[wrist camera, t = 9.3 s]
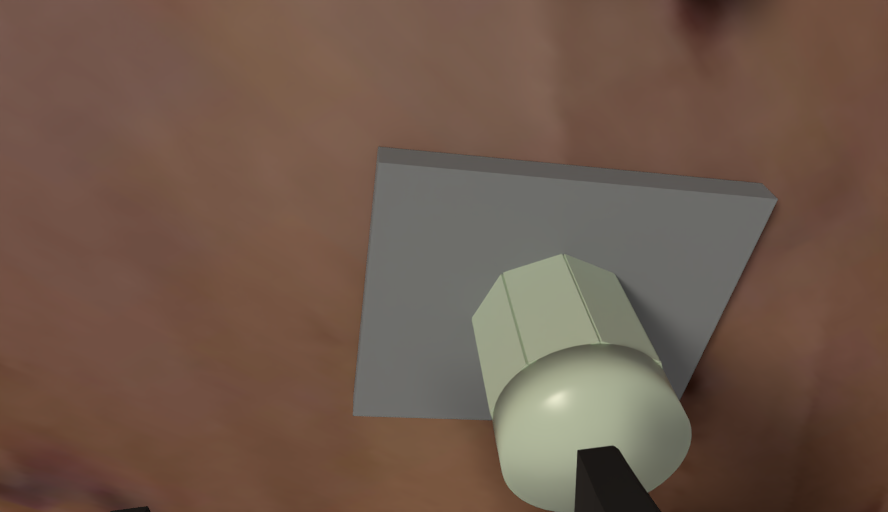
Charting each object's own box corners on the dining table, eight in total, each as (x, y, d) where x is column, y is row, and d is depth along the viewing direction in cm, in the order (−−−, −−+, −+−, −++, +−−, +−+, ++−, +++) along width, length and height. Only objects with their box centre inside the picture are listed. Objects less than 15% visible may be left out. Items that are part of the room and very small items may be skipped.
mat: (761, 183, 21) (778, 199, 20) (658, 406, 26) (667, 425, 25) (378, 146, 19) (378, 162, 18) (353, 395, 24) (352, 415, 23)
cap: (610, 235, 20) (680, 362, 15) (634, 348, 23) (700, 483, 18) (454, 285, 20) (478, 421, 16) (496, 390, 23) (527, 530, 19)
